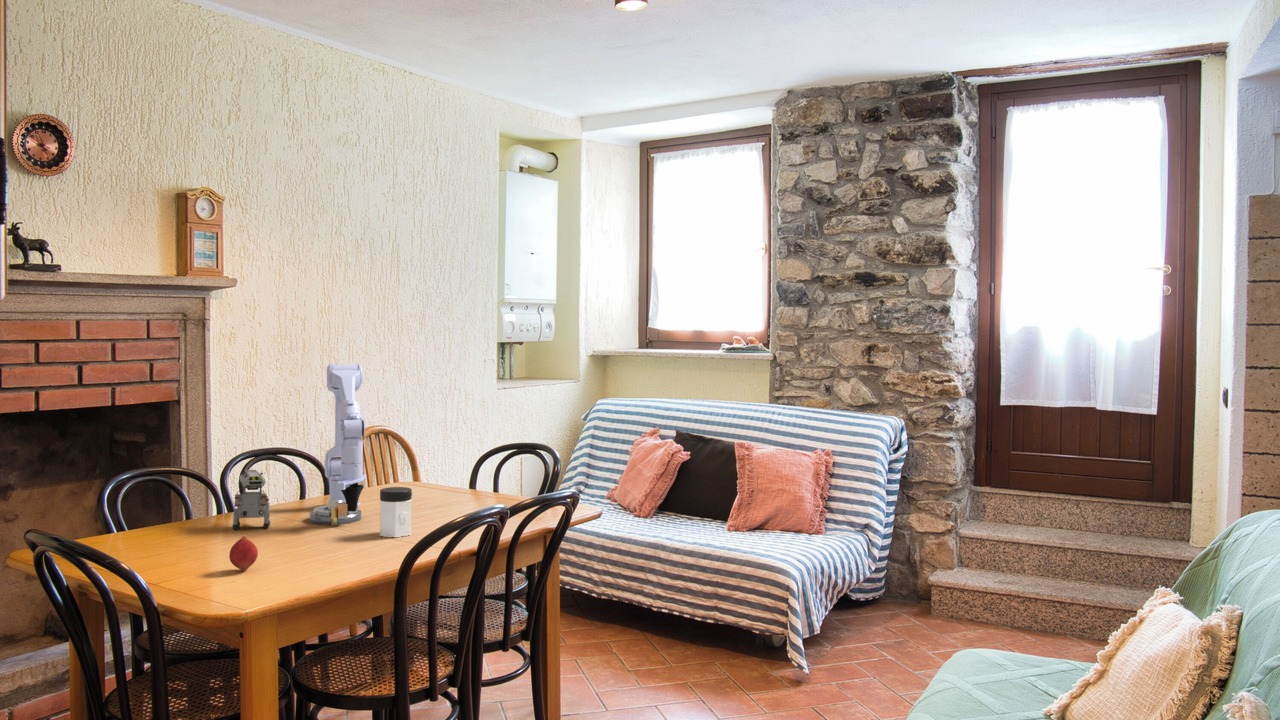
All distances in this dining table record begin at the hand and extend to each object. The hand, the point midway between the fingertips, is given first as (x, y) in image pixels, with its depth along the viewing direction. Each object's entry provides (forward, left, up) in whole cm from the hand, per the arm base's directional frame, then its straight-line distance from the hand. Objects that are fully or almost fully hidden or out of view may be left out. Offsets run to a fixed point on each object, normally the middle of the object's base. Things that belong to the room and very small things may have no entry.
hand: (351, 511), depth 253 cm
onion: (+50, -8, -4) cm, 51 cm away
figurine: (+5, -26, -4) cm, 26 cm away
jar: (+11, +15, -4) cm, 19 cm away
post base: (-6, -7, -4) cm, 10 cm away
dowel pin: (+3, -4, -4) cm, 6 cm away
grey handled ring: (-4, -5, -2) cm, 7 cm away
